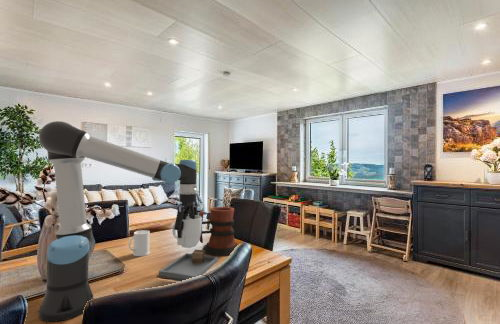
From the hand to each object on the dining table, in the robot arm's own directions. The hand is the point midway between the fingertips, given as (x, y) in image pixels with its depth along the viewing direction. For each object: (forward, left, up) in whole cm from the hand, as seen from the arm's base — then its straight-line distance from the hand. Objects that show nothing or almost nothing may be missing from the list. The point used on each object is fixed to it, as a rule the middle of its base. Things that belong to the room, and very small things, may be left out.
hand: (187, 241), depth 119 cm
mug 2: (0, 0, -2) cm, 2 cm away
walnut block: (+12, 0, -13) cm, 18 cm away
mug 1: (+14, +37, -15) cm, 42 cm away
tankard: (+32, -3, -15) cm, 35 cm away
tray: (+4, 0, -15) cm, 15 cm away
